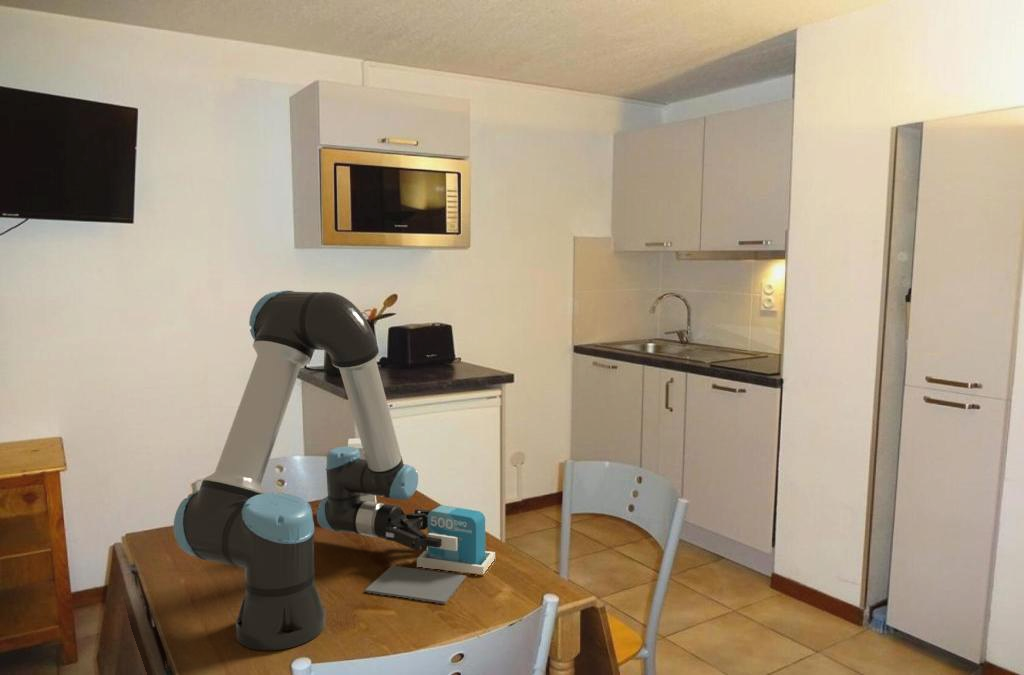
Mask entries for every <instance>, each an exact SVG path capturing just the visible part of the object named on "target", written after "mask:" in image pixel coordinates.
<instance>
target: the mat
mask: <svg viewBox="0 0 1024 675" xmlns="http://www.w3.org/2000/svg"><path fill="white" fill-rule="evenodd" d="M466 577H467V574H460V573H452V572H445V571H437V570H430V569H423V568H414V567H413V568H412V567H406V566H399V565H398V566H397V565H391V566H390V567H389V568H387V569H386V570H385V571H384V572H383V573H382V574H381V575H380V576H378V578H376V580H374V581H373V582H371V584H370V585H368V586H367V588H365V589H364V593H365V592H368V593H367V594H371V593H373V595H377V594H380V595H379V596H384V595H388V596H387V597H391V596H397V597H396V598H398V597H403V598H402V599H404V598H409V599H408V600H411V599H415V600H414V601H418V600H422V601H421V602H425V601H430V602H429V603H431V602H436V603H435V604H438V603H443V604H442V605H447V603H448V602H449V601H450V599H451V598H452V597H453V595H454V594H455V593H456V592H457V591H456V589H457V588H458V587H459V585H460V584H461V583H462V582H463V580H464V579H465V578H466ZM466 579H467V578H466ZM463 583H464V582H463ZM463 583H462V584H463ZM462 584H461V585H462ZM459 588H460V587H459ZM459 588H458V589H459ZM458 589H457V590H458ZM455 591H456V592H455ZM454 592H455V593H454ZM453 593H454V594H453ZM451 596H452V597H451ZM450 597H451V598H450ZM449 598H450V599H449ZM447 601H448V602H447ZM446 602H447V603H446Z"/></svg>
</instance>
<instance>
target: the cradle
mask: <svg viewBox="0 0 1024 675" xmlns="http://www.w3.org/2000/svg"><path fill="white" fill-rule="evenodd" d="M485 559H486V560H485V561H484V562H483V563H482V565H476V564H469V563H461V562H453V561H446V560H438V559H430V558H428V547H427V550H426V551H422V553H421V554H420V555H418V556H417V558H416V568H418V567H423V568H422V569H425V568H433V569H435V568H436V569H445V570H452V571H461V572H469V573H477V574H484V573H485V571H486V570H487V569H488V567H489V566H490V565H491V563H492V562H493V561H494V559H495V560H496V552H495V551H489V550H488V551H487V550H485ZM433 569H432V570H433Z"/></svg>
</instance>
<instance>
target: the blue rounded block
mask: <svg viewBox="0 0 1024 675" xmlns="http://www.w3.org/2000/svg"><path fill="white" fill-rule="evenodd" d="M431 510H432V511H431V512H429V514H428V527H427V535H428V534H429V533H433V534H439V535H446V536H452V537H457V540H458V550H457V551H452V550H445V549H439V548H433V547H428V546H427V548H428V558H430V559H438V560H446V561H453V562H461V563H469V564H476V565H482V563H483V562H484V561H485V551H486V516H485V515H484V512H482V511H481V510H480V511H478V510H475V509H474V510H473V509H468V508H464V507H463V508H462V507H456V506H450V505H446V504H445V505H444V504H442V505H439V506H437V507H436V508H434V509H431Z"/></svg>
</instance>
